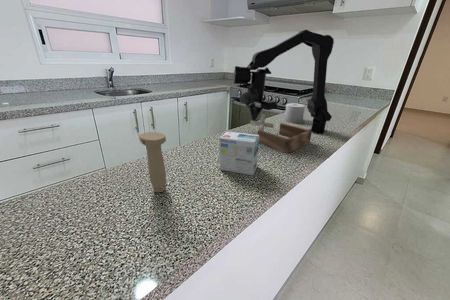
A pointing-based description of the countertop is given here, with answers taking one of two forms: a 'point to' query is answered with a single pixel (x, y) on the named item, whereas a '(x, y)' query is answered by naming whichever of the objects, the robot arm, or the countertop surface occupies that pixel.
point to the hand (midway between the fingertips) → (253, 120)
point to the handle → (155, 159)
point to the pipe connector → (262, 123)
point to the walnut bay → (295, 141)
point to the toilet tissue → (294, 113)
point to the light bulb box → (239, 152)
